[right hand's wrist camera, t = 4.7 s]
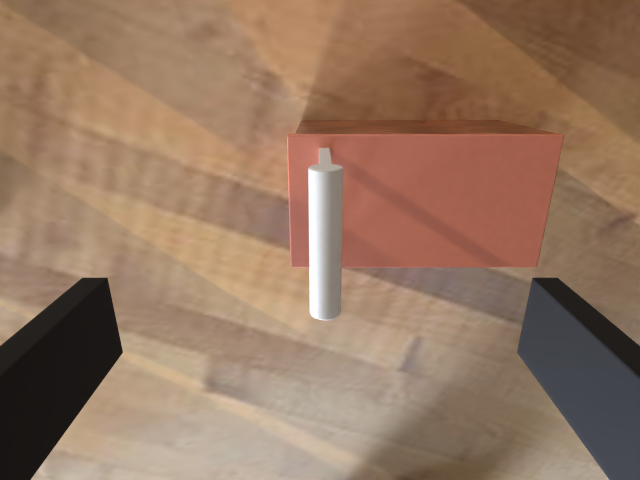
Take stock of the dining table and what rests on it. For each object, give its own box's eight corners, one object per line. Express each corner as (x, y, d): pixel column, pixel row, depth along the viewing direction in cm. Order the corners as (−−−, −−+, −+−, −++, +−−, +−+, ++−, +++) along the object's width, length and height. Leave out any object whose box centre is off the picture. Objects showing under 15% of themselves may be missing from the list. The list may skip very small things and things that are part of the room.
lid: (291, 262, 30) (281, 330, 22) (288, 133, 27) (274, 157, 19) (531, 262, 30) (609, 330, 22) (557, 133, 27) (661, 157, 19)
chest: (302, 220, 39) (297, 262, 30) (300, 120, 36) (294, 133, 27) (482, 220, 39) (530, 261, 30) (497, 120, 36) (556, 133, 27)
